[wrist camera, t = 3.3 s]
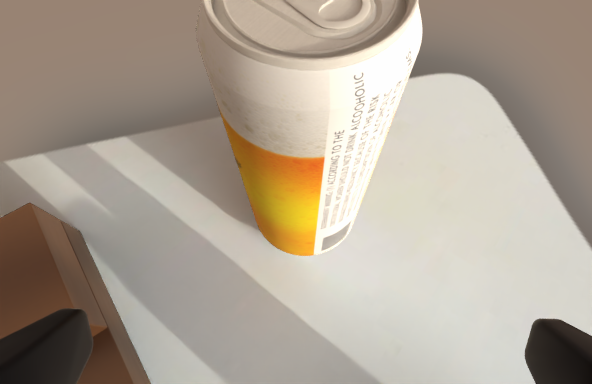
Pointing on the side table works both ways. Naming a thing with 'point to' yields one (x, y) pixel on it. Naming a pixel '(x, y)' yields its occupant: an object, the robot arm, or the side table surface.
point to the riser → (61, 291)
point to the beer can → (307, 104)
